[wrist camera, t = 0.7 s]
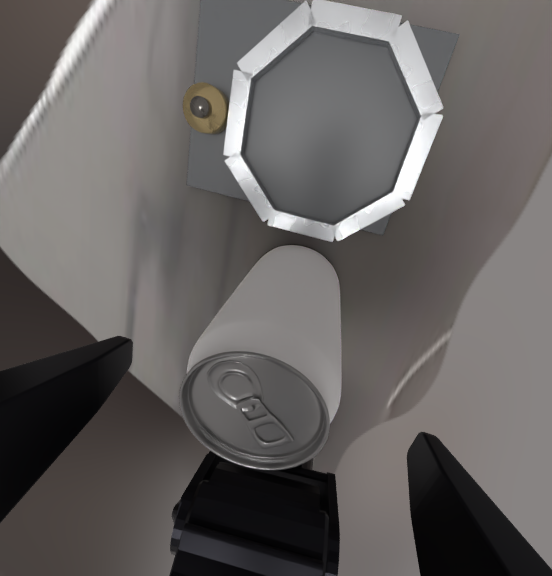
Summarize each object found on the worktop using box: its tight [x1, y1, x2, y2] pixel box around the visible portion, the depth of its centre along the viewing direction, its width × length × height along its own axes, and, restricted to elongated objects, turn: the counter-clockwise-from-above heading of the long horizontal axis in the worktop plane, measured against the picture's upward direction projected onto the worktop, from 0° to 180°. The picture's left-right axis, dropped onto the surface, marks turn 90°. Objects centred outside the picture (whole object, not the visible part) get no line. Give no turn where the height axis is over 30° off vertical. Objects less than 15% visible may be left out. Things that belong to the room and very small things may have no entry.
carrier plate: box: [187, 0, 460, 235], centre depth 17 cm, size 10×13×1 cm
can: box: [179, 245, 342, 470], centre depth 16 cm, size 6×6×12 cm
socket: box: [223, 0, 443, 242], centre depth 17 cm, size 11×11×1 cm
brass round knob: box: [183, 82, 230, 134], centre depth 17 cm, size 2×2×2 cm
